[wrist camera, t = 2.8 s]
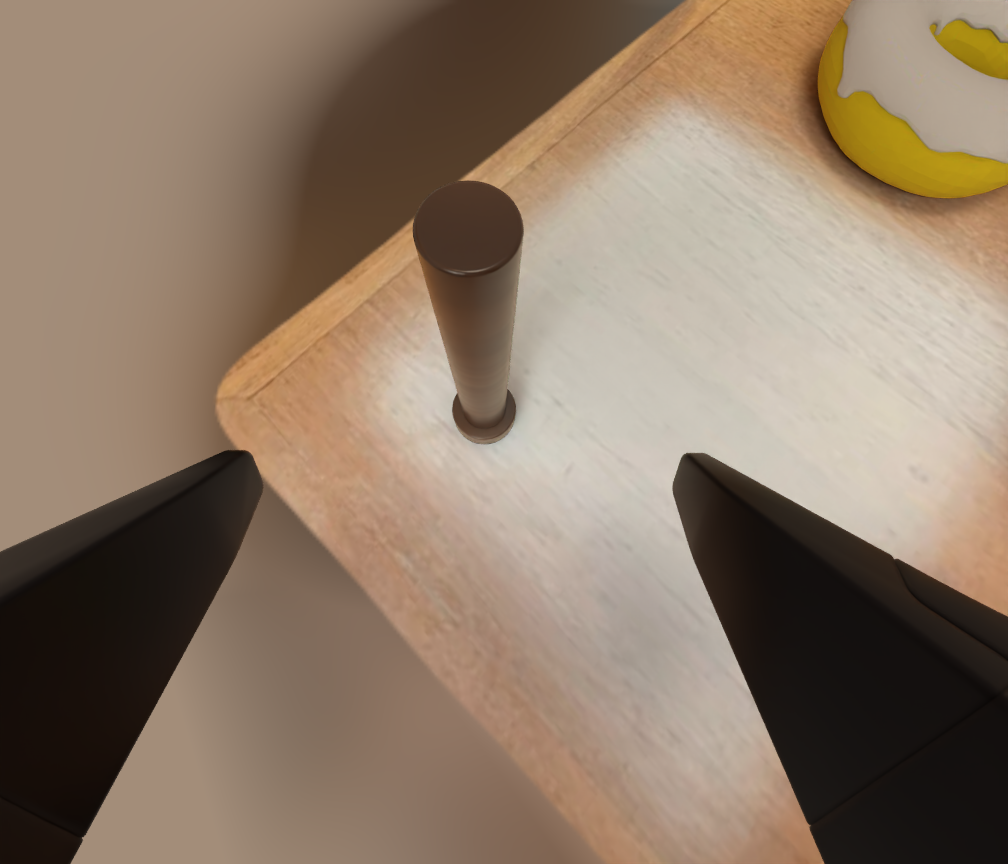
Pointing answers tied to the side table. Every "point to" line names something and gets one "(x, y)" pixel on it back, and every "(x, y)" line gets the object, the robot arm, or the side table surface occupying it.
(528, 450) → the side table surface
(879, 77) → the donut
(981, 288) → the side table surface
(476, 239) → the stirring stick
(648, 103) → the side table surface
